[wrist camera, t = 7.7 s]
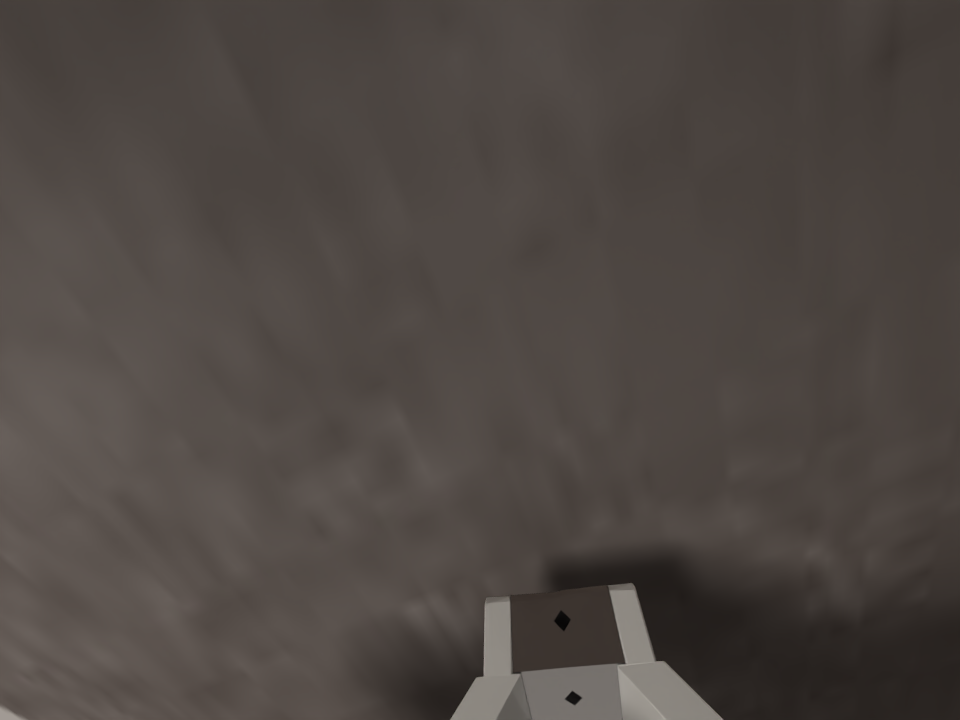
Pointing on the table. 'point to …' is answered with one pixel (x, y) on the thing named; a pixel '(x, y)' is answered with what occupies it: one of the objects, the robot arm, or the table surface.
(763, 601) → the table surface
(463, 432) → the table surface
